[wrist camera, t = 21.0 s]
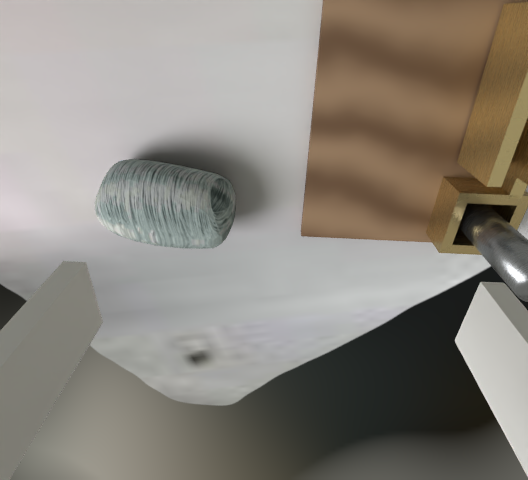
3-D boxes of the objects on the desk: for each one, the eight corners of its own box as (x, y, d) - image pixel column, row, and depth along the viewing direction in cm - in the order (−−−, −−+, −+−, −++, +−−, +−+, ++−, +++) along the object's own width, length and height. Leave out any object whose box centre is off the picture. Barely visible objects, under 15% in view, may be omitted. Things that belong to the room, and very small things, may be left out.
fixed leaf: (497, 2, 28) (546, -2, 23) (581, 5, 28) (651, 2, 23) (425, 232, 40) (448, 265, 34) (485, 235, 39) (517, 269, 34)
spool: (253, 161, 34) (206, 243, 29) (246, 218, 42) (208, 289, 37) (127, 113, 35) (61, 183, 30) (144, 177, 44) (94, 240, 38)
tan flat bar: (503, 3, 28) (552, 0, 23) (519, 3, 28) (571, 0, 23) (456, 162, 35) (486, 186, 30) (469, 162, 35) (501, 187, 30)
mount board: (324, -10, 29) (325, -11, 28) (595, -1, 29) (606, -2, 28) (300, 230, 42) (301, 236, 41) (491, 239, 41) (497, 245, 40)
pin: (453, 192, 37) (526, 265, 26) (486, 193, 37) (574, 267, 26) (443, 220, 39) (508, 300, 28) (475, 222, 39) (552, 303, 28)
